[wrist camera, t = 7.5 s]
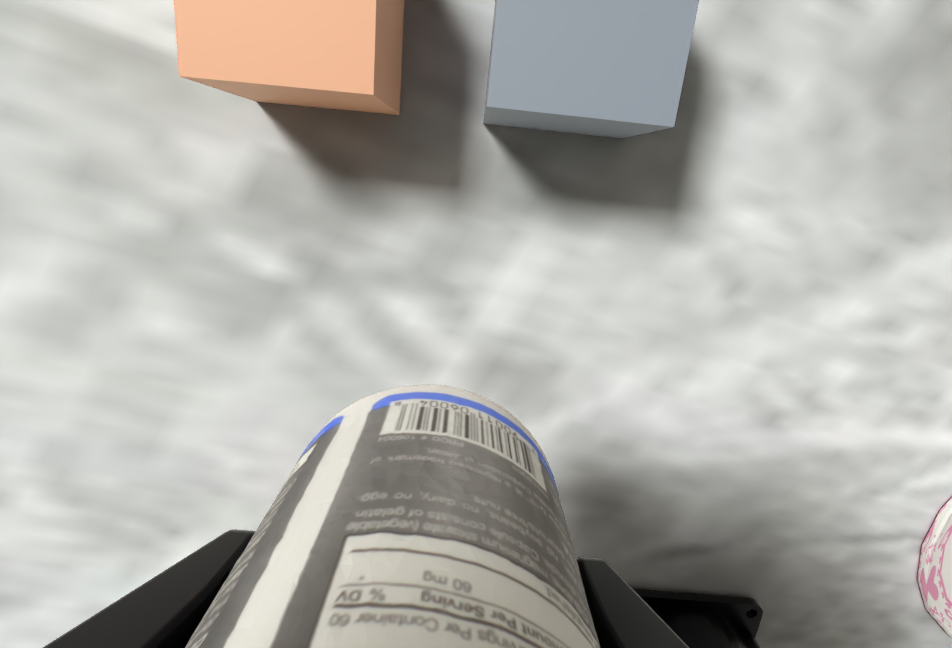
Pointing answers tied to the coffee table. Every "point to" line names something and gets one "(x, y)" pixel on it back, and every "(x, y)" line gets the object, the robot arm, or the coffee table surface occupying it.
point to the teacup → (938, 569)
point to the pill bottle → (409, 538)
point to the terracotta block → (295, 50)
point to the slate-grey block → (588, 65)
